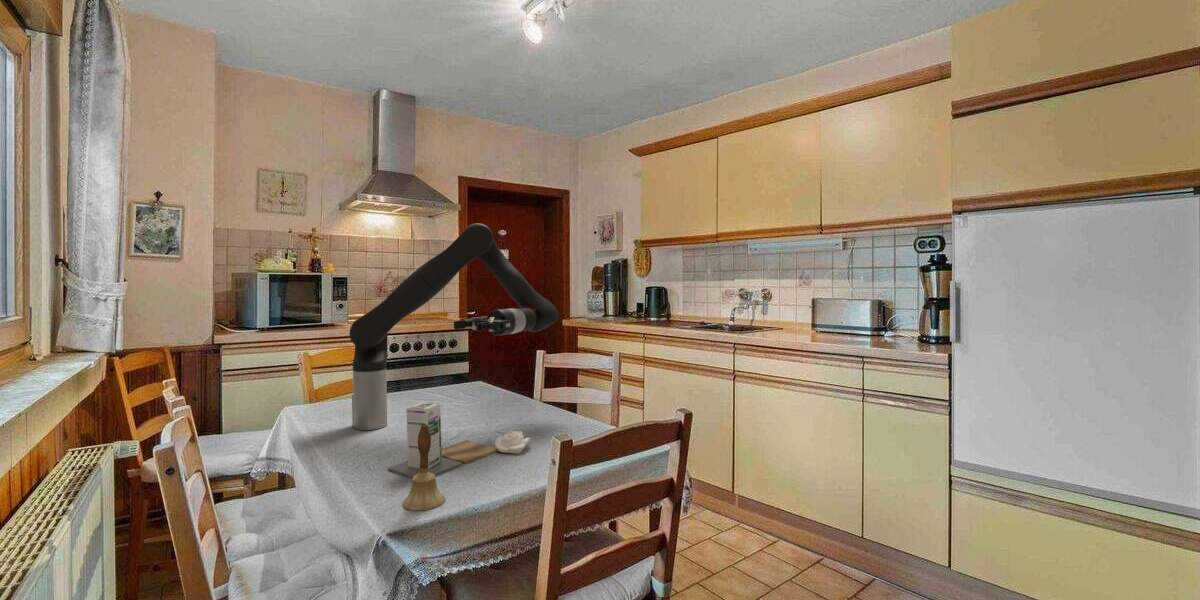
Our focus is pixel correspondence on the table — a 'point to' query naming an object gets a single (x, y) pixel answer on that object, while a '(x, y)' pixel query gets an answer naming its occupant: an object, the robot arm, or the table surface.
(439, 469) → the dark slate pad
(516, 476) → the table surface
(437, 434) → the syrup box
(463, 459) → the honey oak pad
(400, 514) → the table surface
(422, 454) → the hand bell
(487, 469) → the table surface
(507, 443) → the rose
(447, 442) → the table surface
